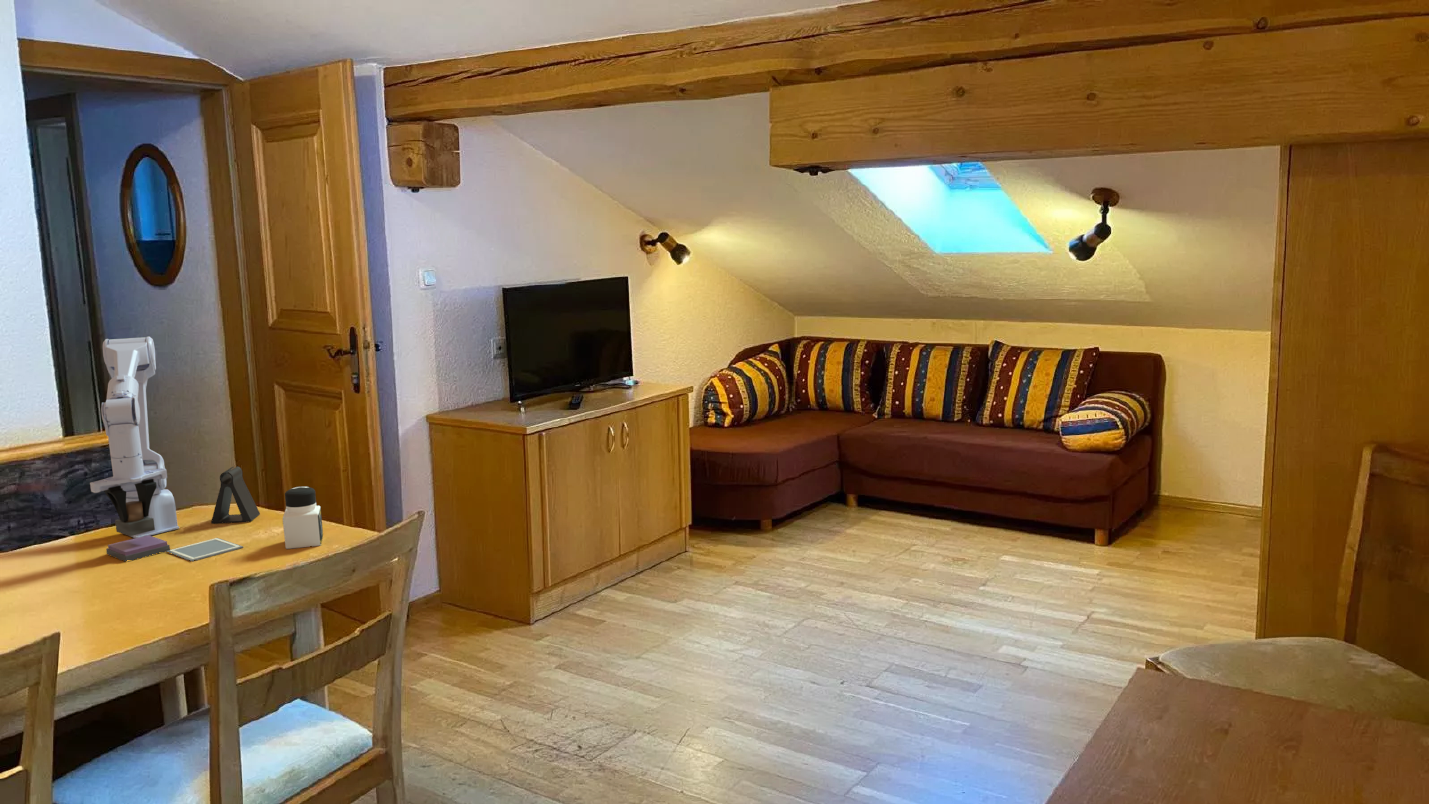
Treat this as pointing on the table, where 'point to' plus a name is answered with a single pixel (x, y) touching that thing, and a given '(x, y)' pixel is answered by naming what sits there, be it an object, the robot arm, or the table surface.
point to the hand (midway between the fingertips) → (134, 518)
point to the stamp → (135, 520)
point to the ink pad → (137, 548)
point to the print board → (204, 549)
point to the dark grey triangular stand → (243, 498)
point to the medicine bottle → (302, 519)
